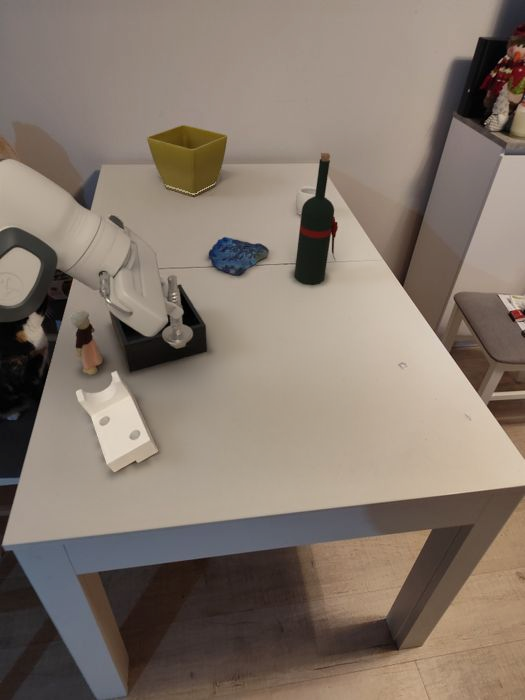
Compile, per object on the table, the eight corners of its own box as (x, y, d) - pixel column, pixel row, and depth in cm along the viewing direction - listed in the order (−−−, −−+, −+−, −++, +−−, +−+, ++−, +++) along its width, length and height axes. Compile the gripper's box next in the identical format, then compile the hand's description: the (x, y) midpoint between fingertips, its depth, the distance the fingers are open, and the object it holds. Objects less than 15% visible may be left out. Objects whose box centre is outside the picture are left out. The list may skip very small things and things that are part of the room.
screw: (195, 334, 75) (190, 353, 71) (166, 333, 75) (160, 352, 71) (190, 267, 66) (185, 285, 63) (158, 265, 66) (151, 282, 62)
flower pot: (195, 203, 145) (192, 149, 134) (151, 189, 152) (145, 137, 141) (228, 185, 157) (228, 135, 146) (186, 173, 164) (183, 124, 153)
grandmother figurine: (101, 377, 83) (86, 324, 75) (79, 379, 82) (62, 325, 74) (106, 351, 89) (93, 298, 80) (86, 352, 88) (71, 299, 80)
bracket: (96, 417, 77) (75, 391, 72) (134, 397, 79) (116, 370, 73) (116, 475, 69) (94, 451, 63) (158, 451, 70) (140, 426, 65)
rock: (273, 252, 122) (273, 246, 120) (237, 280, 111) (237, 273, 110) (229, 238, 128) (229, 231, 126) (191, 263, 117) (190, 256, 115)
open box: (129, 372, 84) (124, 345, 80) (112, 326, 95) (106, 299, 90) (207, 351, 90) (205, 325, 85) (182, 309, 100) (180, 284, 96)
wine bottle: (336, 284, 111) (359, 160, 92) (296, 285, 110) (310, 160, 91) (329, 268, 117) (349, 148, 98) (291, 268, 116) (304, 148, 96)
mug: (324, 219, 140) (328, 194, 135) (299, 221, 138) (301, 196, 133) (312, 203, 149) (315, 180, 144) (287, 205, 147) (290, 181, 142)
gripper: (116, 280, 51) (204, 335, 60) (113, 208, 66) (183, 260, 75) (84, 316, 53) (173, 364, 62) (87, 238, 68) (159, 285, 77)
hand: (179, 307), depth 68 cm, fingers closed on screw, 2 cm apart
